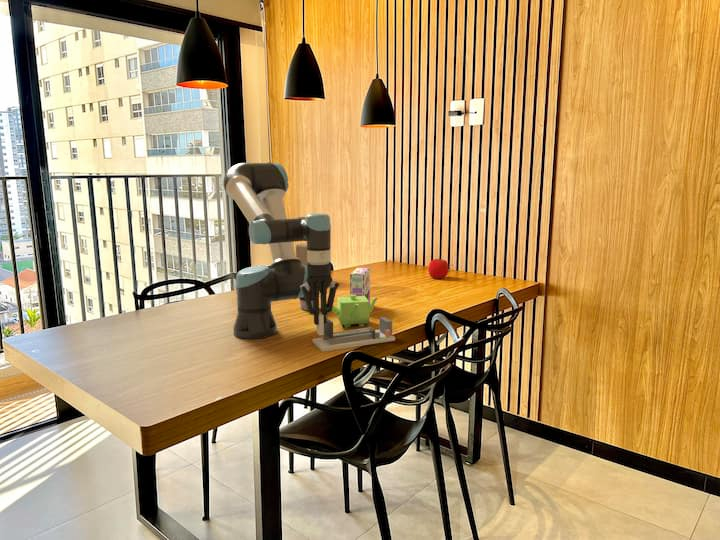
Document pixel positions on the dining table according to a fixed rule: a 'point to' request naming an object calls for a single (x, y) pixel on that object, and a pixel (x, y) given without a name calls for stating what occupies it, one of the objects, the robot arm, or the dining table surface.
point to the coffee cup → (303, 303)
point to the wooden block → (302, 253)
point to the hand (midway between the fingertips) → (320, 333)
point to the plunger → (329, 332)
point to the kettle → (354, 310)
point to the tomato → (438, 268)
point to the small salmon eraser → (387, 333)
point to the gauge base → (356, 338)
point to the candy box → (360, 282)
